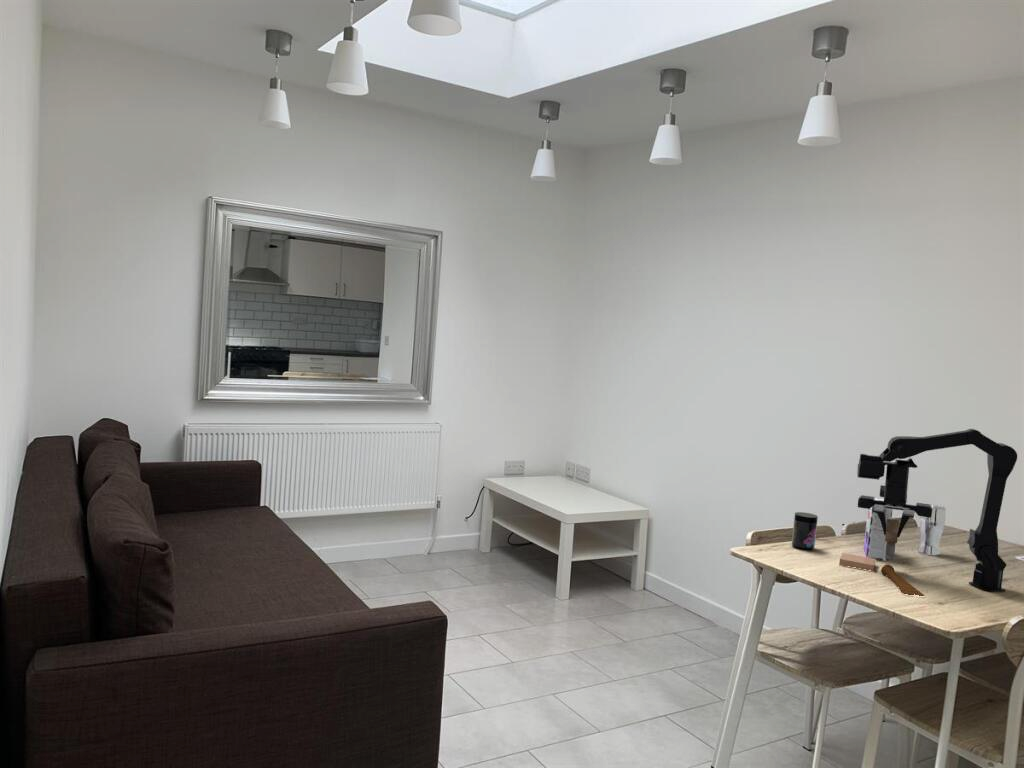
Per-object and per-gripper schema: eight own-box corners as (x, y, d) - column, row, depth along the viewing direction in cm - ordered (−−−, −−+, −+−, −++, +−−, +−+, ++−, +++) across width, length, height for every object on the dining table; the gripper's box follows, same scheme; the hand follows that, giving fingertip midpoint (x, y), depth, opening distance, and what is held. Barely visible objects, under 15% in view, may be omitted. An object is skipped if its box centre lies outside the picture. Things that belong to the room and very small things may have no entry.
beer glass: (934, 557, 251) (939, 509, 249) (912, 551, 256) (917, 504, 255) (945, 555, 255) (950, 508, 254) (923, 549, 260) (928, 503, 259)
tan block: (875, 558, 236) (842, 552, 240) (873, 565, 229) (839, 558, 233) (874, 566, 236) (841, 560, 240) (872, 573, 229) (838, 566, 233)
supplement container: (799, 551, 246) (803, 517, 245) (786, 544, 252) (790, 511, 252) (818, 551, 247) (822, 517, 247) (805, 545, 254) (809, 512, 253)
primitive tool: (926, 599, 208) (927, 585, 208) (905, 597, 208) (906, 584, 208) (892, 576, 227) (893, 564, 227) (872, 575, 228) (874, 562, 227)
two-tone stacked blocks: (896, 552, 232) (899, 518, 232) (895, 559, 224) (898, 524, 224) (885, 551, 234) (887, 516, 233) (883, 557, 226) (886, 522, 225)
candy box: (862, 547, 256) (868, 496, 255) (883, 550, 254) (889, 499, 253) (865, 558, 243) (871, 504, 242) (887, 561, 241) (893, 507, 240)
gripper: (934, 482, 230) (929, 536, 231) (863, 473, 239) (858, 525, 240) (933, 487, 220) (928, 544, 221) (859, 478, 229) (855, 532, 230)
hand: (891, 536), depth 228 cm, fingers closed on two-tone stacked blocks, 3 cm apart
